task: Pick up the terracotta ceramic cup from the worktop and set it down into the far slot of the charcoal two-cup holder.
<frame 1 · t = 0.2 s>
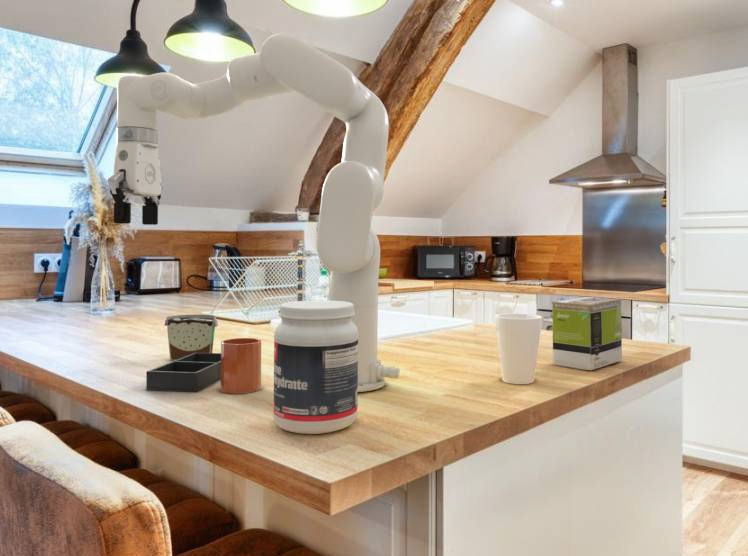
hand: (136, 223, 124), 31 cm above the worktop, tool pointing down, fingers open, 9 cm apart
cup: (241, 388, 116), on the worktop
holder: (195, 379, 123), on the worktop
tea box: (587, 364, 142), on the worktop
food container: (195, 359, 144), on the worktop
supplement tub: (316, 425, 94), on the worktop
foam cup: (517, 381, 124), on the worktop
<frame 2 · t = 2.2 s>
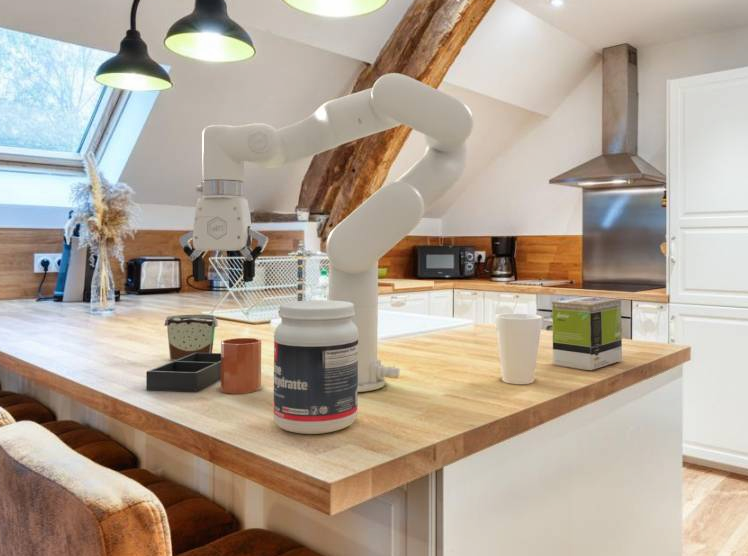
hand: (223, 281, 117), 20 cm above the worktop, tool pointing down, fingers open, 9 cm apart
nothing on the worktop moved.
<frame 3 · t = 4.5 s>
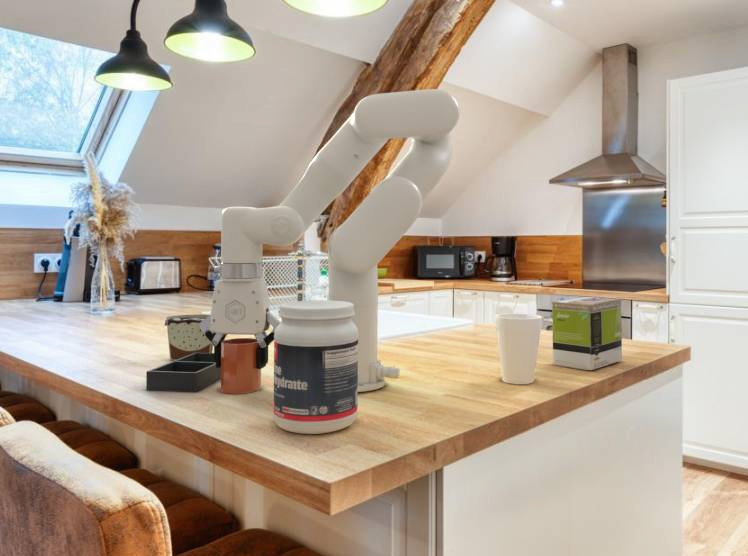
hand: (241, 366, 116), 4 cm above the worktop, tool pointing down, fingers closed on cup, 7 cm apart
cup: (240, 388, 116), on the worktop, touching gripper
everything else where it was.
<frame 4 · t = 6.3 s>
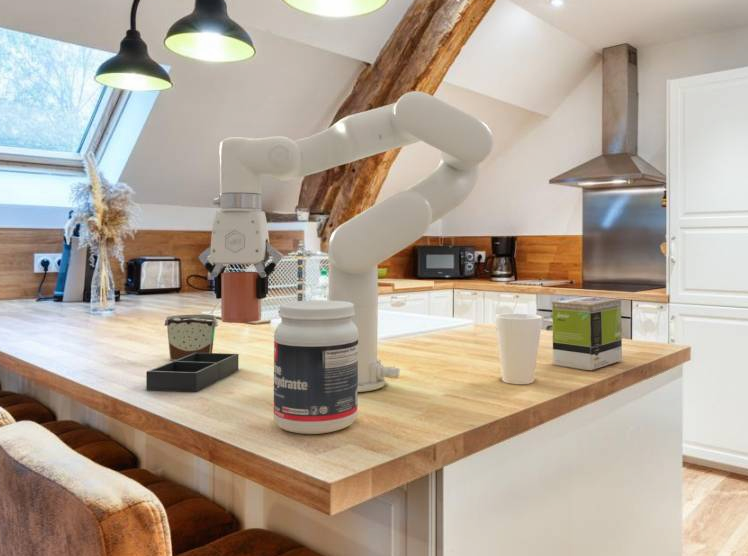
hand: (241, 297, 116), 17 cm above the worktop, tool pointing down, fingers closed on cup, 7 cm apart
cup: (241, 320, 116), point 13 cm above the worktop, touching gripper
everything else where it was.
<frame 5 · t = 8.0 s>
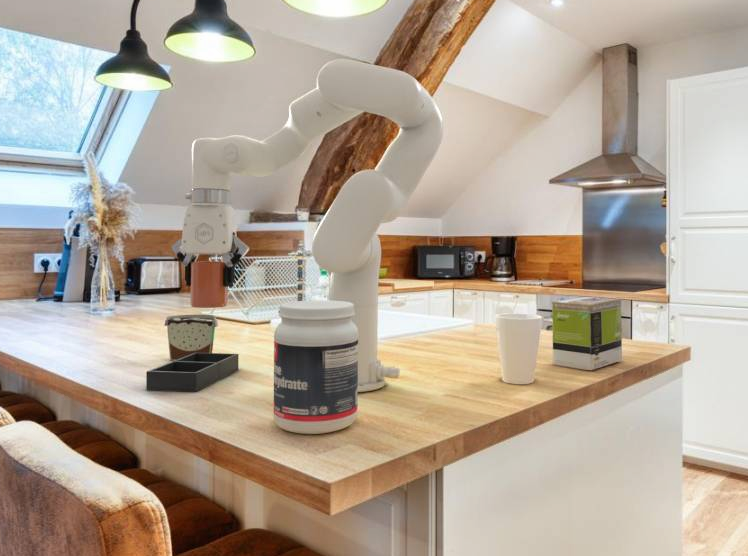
hand: (209, 285, 126), 19 cm above the worktop, tool pointing down, fingers closed on cup, 7 cm apart
cup: (209, 305, 126), point 14 cm above the worktop, touching gripper
everything else where it was.
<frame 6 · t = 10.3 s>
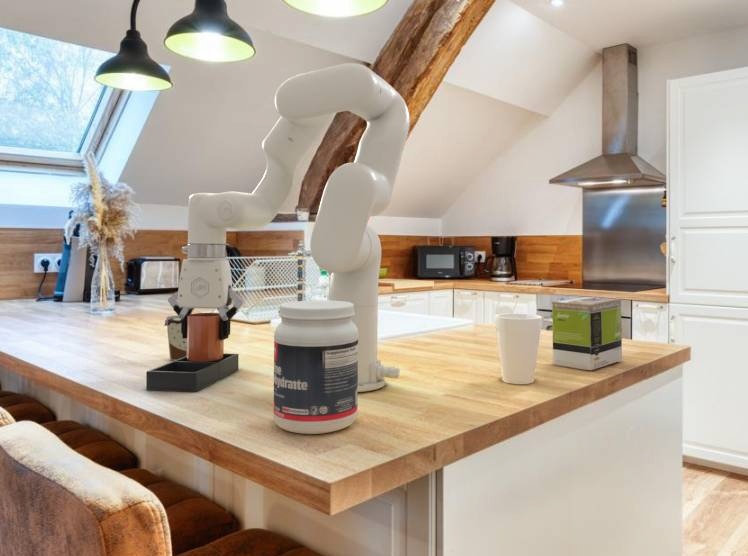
hand: (205, 337, 128), 8 cm above the worktop, tool pointing down, fingers closed on cup, 7 cm apart
cup: (205, 358, 128), point 3 cm above the worktop, touching gripper
everything else where it was.
when the fingers open (5 cm above the worktop, at t = 11.7 s): cup stays where it is, resting on holder.
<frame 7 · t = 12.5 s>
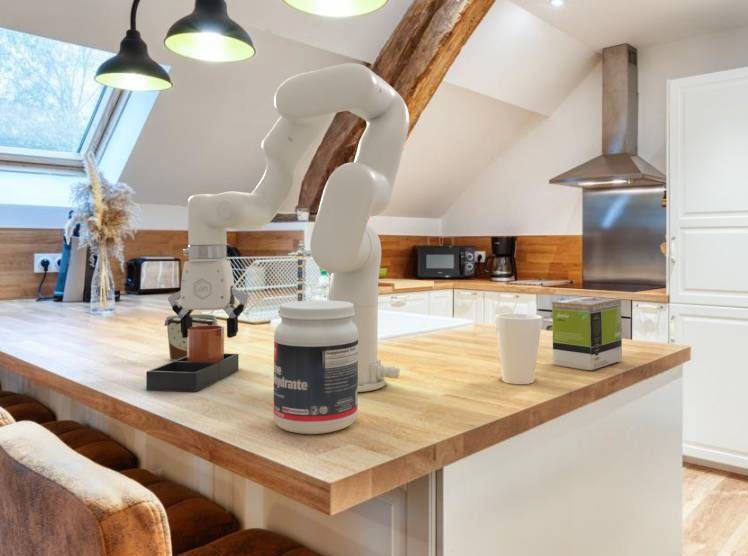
hand: (209, 336, 127), 8 cm above the worktop, tool pointing down, fingers open, 9 cm apart
cup: (205, 371, 128), point 1 cm above the worktop, touching gripper, holder
everything else where it was.
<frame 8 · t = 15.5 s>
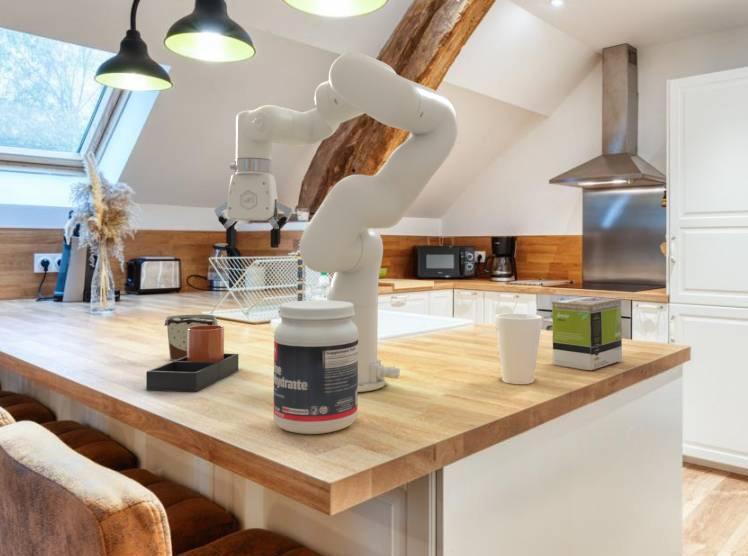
hand: (253, 247, 134), 26 cm above the worktop, tool pointing down, fingers open, 9 cm apart
cup: (205, 371, 128), point 1 cm above the worktop, touching holder
everything else where it was.
at the end: cup 0.1 cm from the target spot in the holder, point 0.7 cm above the holder's base; cup tilted 0°; the gripper is holding nothing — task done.
